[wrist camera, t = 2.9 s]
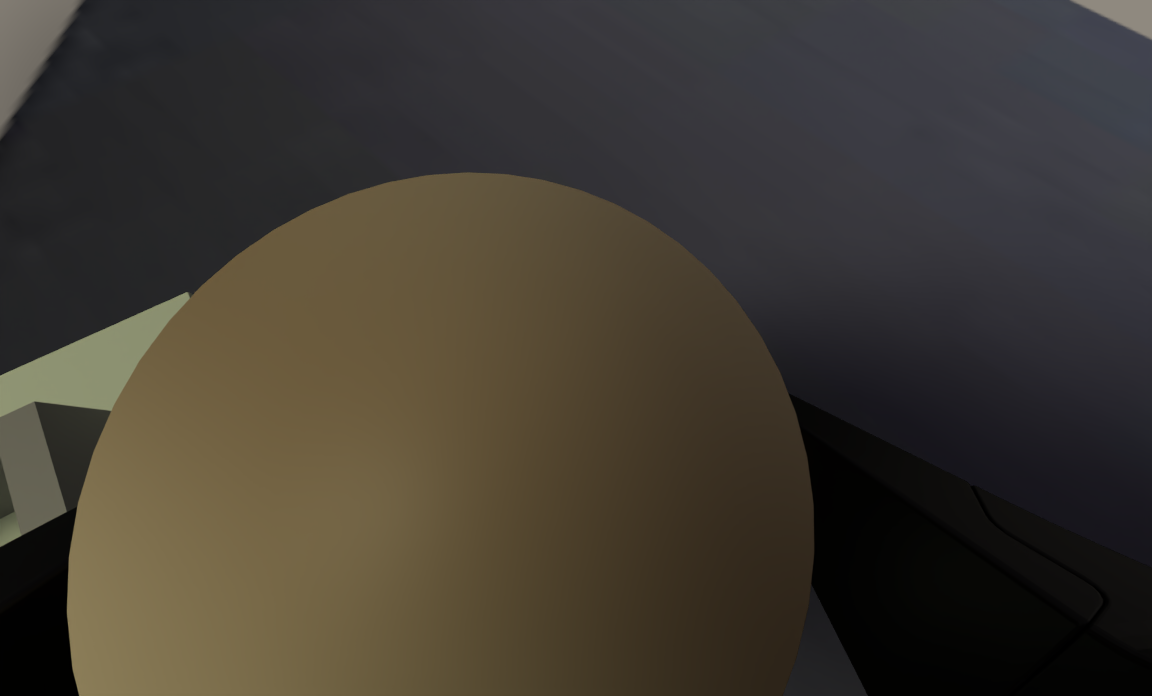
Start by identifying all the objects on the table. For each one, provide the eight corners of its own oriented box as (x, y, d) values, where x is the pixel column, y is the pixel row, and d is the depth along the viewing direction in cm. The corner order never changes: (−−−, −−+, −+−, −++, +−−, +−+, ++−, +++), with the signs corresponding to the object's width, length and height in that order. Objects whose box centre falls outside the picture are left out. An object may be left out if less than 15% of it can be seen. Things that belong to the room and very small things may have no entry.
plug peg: (573, 543, 14) (720, 1121, 2) (462, 503, 14) (-131, 769, 2) (609, 430, 15) (862, 285, 3) (506, 394, 15) (311, 100, 3)
